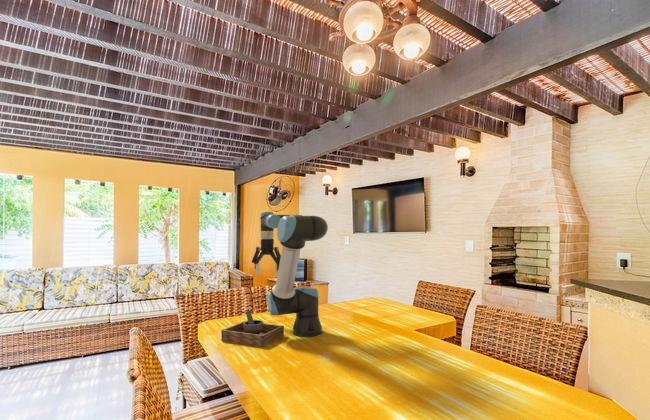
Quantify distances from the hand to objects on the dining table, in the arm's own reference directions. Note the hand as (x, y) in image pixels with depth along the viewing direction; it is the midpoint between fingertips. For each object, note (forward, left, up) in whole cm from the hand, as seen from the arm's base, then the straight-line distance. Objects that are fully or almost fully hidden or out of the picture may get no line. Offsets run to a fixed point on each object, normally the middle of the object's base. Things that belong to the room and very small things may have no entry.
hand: (267, 275), depth 202 cm
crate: (-10, +27, -27) cm, 39 cm away
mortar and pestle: (-10, +27, -26) cm, 39 cm away
